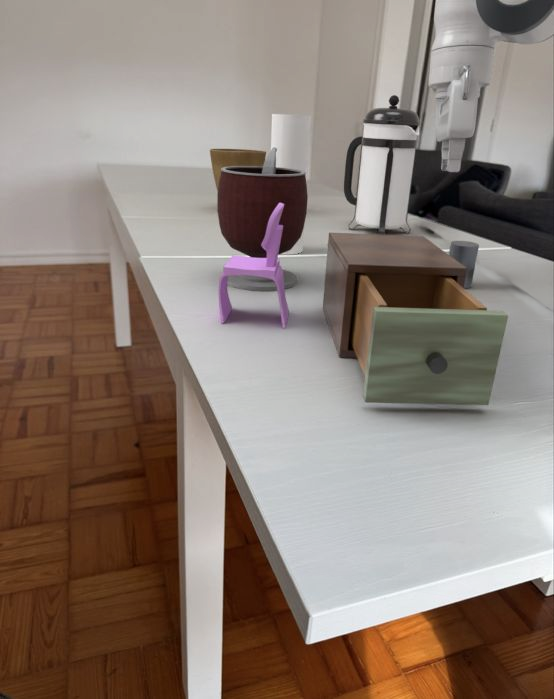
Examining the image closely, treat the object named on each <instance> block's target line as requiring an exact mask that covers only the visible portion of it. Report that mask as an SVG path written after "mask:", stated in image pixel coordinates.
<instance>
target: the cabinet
mask: <svg viewBox="0 0 554 699" xmlns="http://www.w3.org/2000/svg"><path fill="white" fill-rule="evenodd" d="M327 239H328V240H327V250H326V262H325V276H324V286H323V287H324V288H323V298H322V311H323V313H324V316H325V320H326V322H327V325H328V329H329V331H330V334H331V338H332V340H333V343H334V347H335V349H336V352H337V355H338V358H342V359H343V358H344V359H346V358H347V359H348V358H349V359H357V356H356V354H355V351H354V349H353V347H352V344H351V342H350V339H349V333H350V324H351V314H352V304H353V295H354V285H355V275H356V273H385V274H415V275H444V276H450V277H451V278H452V279H453V280H454V281H456V282H457V283H458V284H459V285H460V286H462V287H463V288H464V284H465V279H466V272H467V268H466V267H465V266H463V265H462V264H460V263H459V262H458V261H456V260H455V259H454V258H452V257H451V256H450V255H449V253H447V252H445V251H444V250H443V249H441V248H440V247H438V246H437V244H434V243H433V242H432V241H431V240H429V239H428V238H426V237H425V235H410V234H409V235H405V234H404V235H403V234H384V235H382V234H378V233H374V234H373V233H356V232H355V233H354V232H353V233H351V232H328V238H327ZM355 272H356V273H355Z"/></svg>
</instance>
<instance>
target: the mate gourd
mask: <svg viewBox="0 0 554 699" xmlns="http://www.w3.org/2000/svg"><path fill="white" fill-rule="evenodd" d="M276 152H277V148H276V147H273V148H272V150H271V149H270V150H269V153H268V154H267V155H266V157H265V162H264V165H263V166H230V167H223V168H221V175H220V179H219V186H218V191H217V193H216V194H217V195H216V196H217V207H216V208H217V209H216V210H217V216H218V224H219V225H218V226H219V229H220V233H221V235H222V237H223V238H224V239H225V241H226V243H227V244H228V245H229V247H230V248H231V249H233V250H235V251H237V252H239V253H241V254H244V255H245V256H247V257H253V258H267V251H266V250H265V249H264V248H263V247H262V246H261V244H262V242H263V240H264V238H265V234H266V230H267V225H268V222H269V219H270V217H271V215H272V213H273V211H274V210H275V208H276V207H277V205H278V204H279V203H283V204H284V208H283V211H282V214H281V217H280V221H279V225H283V230H282V236H281V241H280V247H279V252H278V256H279V255H283V254H282V253H284V252H287V251H289V250H291V249H292V248H293V246H294V245H295V244H296V243H297V241H298V240H299V239H300V238H301V235H302V232H303V228H304V229H305V223H306V219H307V213H308V196H309V195H308V182H307V183H306V177H305V174H306V172H305V171H302V170H296V169H289V168H279V167H276ZM282 270H283V276H284V289H285V290H286V289H290V288H293V287H294V286H296V285H297V284H298V276H297V274H295V273H294V272H292V271H291V270H287V269H284V268H282ZM227 286H230V287H232V288H236V289H239V290H240V289H241V290H248V291H257V292H258V291H259V292H271V291H278V290H277V286H276V283H275V282H274V281H273V280H272V279H270V278H264V277H258V276H252V275H228V282H227Z"/></svg>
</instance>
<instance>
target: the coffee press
mask: <svg viewBox="0 0 554 699" xmlns="http://www.w3.org/2000/svg"><path fill="white" fill-rule="evenodd" d="M388 102H389V106H388V107H376V108H375V107H374V108H372V109H370V110H369V111H368V112H366V115H365V118H364V119H362V123H363V124H362V125H363V132H362V134H363V135H362V136H357V137H355V138H353V139H352V140H351V142H350V144H349V145H348V148H347V151H346V158H345V165H344V166H345V167H344V178H343V193H344V197H345V200H346V201H347V202H348V203H349V204H351V205H352V206H354V215H353V218H352V219H351V221H350V222H349V223H348V229H349V230H351V231H354V230H355V229H356V228H358V227H364V228H370V229H377V234H382V235H386V230H396V229H401V230H402V231H403V232H404V233H405V234H410V232H411V230H412V229H411V227H410V226H409V224H408V214H409V208H410V207H409V206H410V200H411V193H412V184H413V177H414V169H415V164H416V156H417V148H418V139H417V138H418V137H419V135H420V126H421V125H422V124H421V121H420V118H419V114H418V113H417V112H416V111H414V110H412V109H408V108H400V107H398V106H397V105H399V103H400V98H399V96H397V95H396V94H393V95H391V96H390V97H389V99H388ZM359 146H360V154H359V165H358V174H357V186H356V195H355V196H356V197H355V196H354V194H353V191H352V186H353V185H352V183H353V173H354V172H353V171H354V162H355V155H356V151H357V149H358V147H359ZM354 220H355V222H356V225H355V226H354V227H351V226H350V225H352V223H353V222H354ZM405 224H406V225H407V226H408V231H405V229H403V226H405Z"/></svg>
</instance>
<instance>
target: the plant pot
mask: <svg viewBox="0 0 554 699" xmlns="http://www.w3.org/2000/svg"><path fill="white" fill-rule="evenodd" d="M209 156H210V163H211V170H212V174H213V178H214V179H213V180H214V183H215V188H216V191H217V192H218V186H219V179H220V175H221V168H223V167H230V166H263V165H264V162H265V159H266V157H267V151H266V150H259V149H258V150H257V149H247V148H246V149H245V148H243V149H242V148H210V149H209Z"/></svg>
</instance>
